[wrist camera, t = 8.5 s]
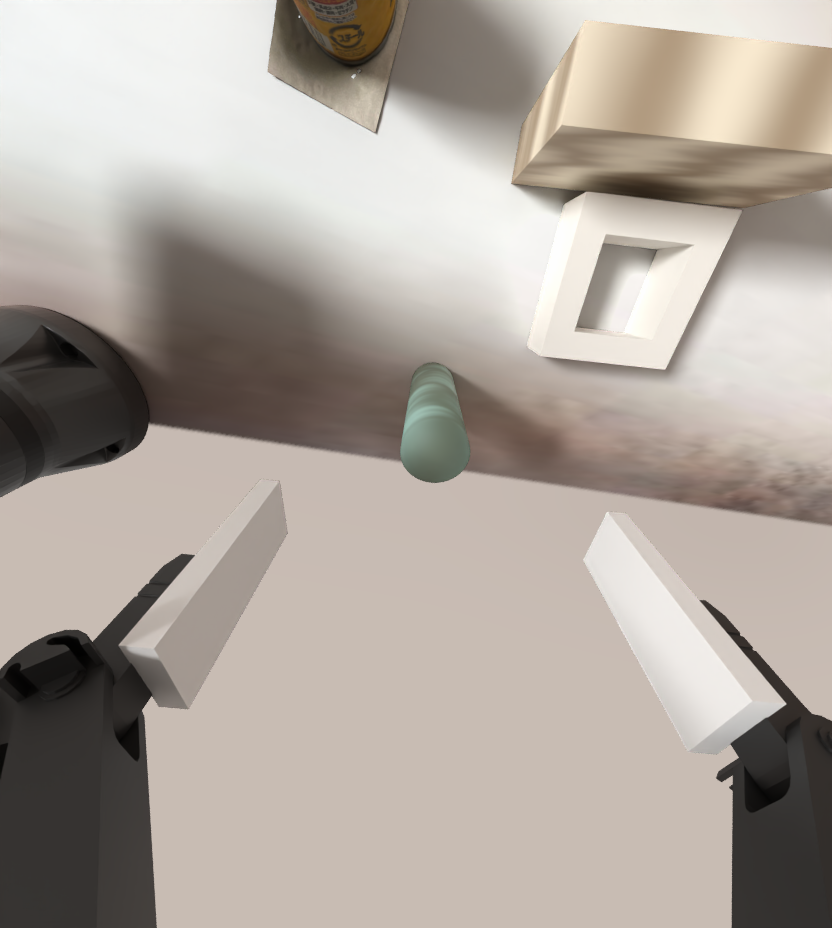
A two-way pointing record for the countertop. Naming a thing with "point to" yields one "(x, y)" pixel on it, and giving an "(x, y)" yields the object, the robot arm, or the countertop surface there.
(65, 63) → the countertop surface
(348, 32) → the condiment
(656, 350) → the socket block
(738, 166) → the wall
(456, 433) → the dowel
